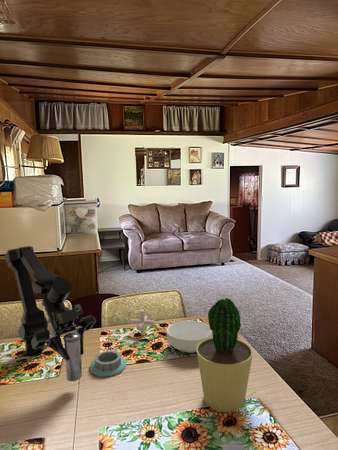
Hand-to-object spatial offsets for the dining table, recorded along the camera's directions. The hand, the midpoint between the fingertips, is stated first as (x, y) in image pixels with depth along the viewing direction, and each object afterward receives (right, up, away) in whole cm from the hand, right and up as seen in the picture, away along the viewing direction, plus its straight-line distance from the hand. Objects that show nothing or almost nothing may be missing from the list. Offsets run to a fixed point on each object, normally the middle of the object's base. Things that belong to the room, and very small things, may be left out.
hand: (75, 357), depth 98 cm
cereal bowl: (+35, -7, +26) cm, 44 cm away
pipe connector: (+17, -6, +37) cm, 41 cm away
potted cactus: (+43, -11, -3) cm, 44 cm away
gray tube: (-1, -7, +2) cm, 7 cm away
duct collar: (+7, -9, +14) cm, 18 cm away
